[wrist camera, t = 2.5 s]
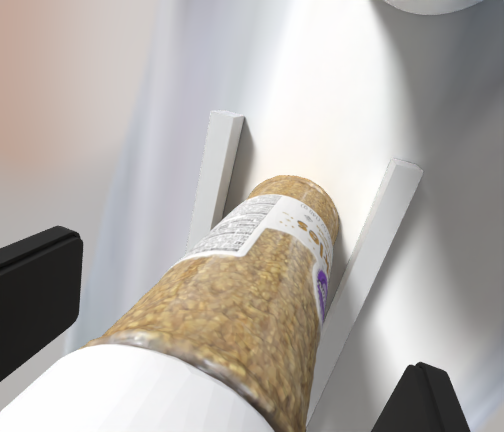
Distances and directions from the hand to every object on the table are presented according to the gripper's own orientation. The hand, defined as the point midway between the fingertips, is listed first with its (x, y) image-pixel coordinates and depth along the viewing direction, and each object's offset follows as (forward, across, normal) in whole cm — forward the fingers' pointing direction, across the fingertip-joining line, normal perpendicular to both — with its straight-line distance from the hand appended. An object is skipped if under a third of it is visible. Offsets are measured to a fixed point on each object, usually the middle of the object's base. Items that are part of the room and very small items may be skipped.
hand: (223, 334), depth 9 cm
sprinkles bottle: (+8, 0, -1) cm, 8 cm away
